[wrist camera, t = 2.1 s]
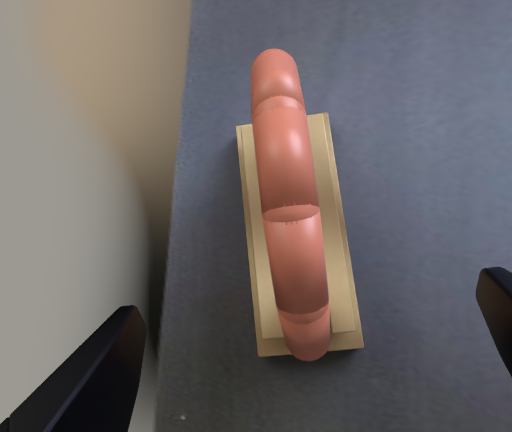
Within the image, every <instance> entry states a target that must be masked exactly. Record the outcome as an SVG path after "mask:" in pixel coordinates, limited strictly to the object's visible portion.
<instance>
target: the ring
mask: <svg viewBox="0 0 512 432" xmlns="http://www.w3.org/2000/svg"><path fill="white" fill-rule="evenodd" d="M251 107H252V128H253V137H254V146H255V156H256V165H257V174H258V183H259V193H260V202H261V211H262V219H263V226H264V232H265V239H266V245H267V251H268V258H269V264H270V271H271V277H272V283H273V290H274V296H275V303H276V307H277V311H278V315H279V319H280V323H281V327H282V331H283V335H284V338H285V342H286V345H287V348H288V349H289V351H290V352H291V353H292V354H293V355H294V356H295V357H296V358H298V359H300V360H304V361H313V360H316V359H319V358H320V357H322V356H323V355H324V354H325V353H326V351H327V350H328V347H329V344H330V311H329V293H328V283H327V274H326V264H325V254H324V245H323V235H322V226H321V216H320V207H319V200H318V193H317V186H316V179H315V172H314V165H313V158H312V151H311V143H310V136H309V129H308V122H307V115H306V110H305V105H304V100H303V95H302V90H301V85H300V80H299V76H298V71H297V66H296V64H295V61H294V60H293V58H292V57H291V56H290V55H289V54H288V53H286V52H285V51H283V50H280V49H269V50H266V51H264V52H262V53H261V54H260V55H259V56H258V57H257V58H256V59H255V61H254V62H253V65H252V68H251Z"/></svg>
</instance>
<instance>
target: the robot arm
mask: <svg viewBox="0 0 512 432" xmlns="http://www.w3.org/2000/svg"><path fill="white" fill-rule="evenodd" d="M476 299H477V302H478V304H479V307H480V309H481V312H482V314H483V316H484V319H485V321H486V323H487V326H488V328H489V330H490V333H491V335H492V338H493V340H494V342H495V345H496V347H497V349H498V352H499V354H500V356H501V358H502V360H503V362H504V364H505V366H506V367H507V369H508V371H509V373H510V375H511V376H512V273H511V272H509V271H507V270H506V269H504V268H501V267H491V268H484V269H482V270H481V272H480V275H479V279H478V284H477V288H476ZM145 340H146V325H145V322H144V320H143V318H142V316H141V314H140V312H139V310H138V308H137V307H136V306H134V305H130V306H122V307H120V308H119V309H117V310H116V311H115V312H114V313H113V314H112V315H111V316H110V317H109V318H108V319H107V320H106V321H105V322H104V323H103V324H102V325H101V326H100V327H99V328H98V329H97V330H96V331H95V332H94V333H93V334H92V335H91V336H90V337H89V338H88V339H87V340H86V341H85V342H84V343H83V344H82V345H80V346H79V347H78V349H76V350H75V351H74V352H73V353H72V354H71V355H70V356H69V358H67V359H66V360H65V361H64V362H63V363H62V364H61V365H60V366H59V367H58V368H57V369H56V370H55V371H54V372H53V373H52V374H51V375H50V376H49V377H48V378H47V379H46V380H45V381H44V382H43V383H42V384H41V385H40V386H39V387H38V388H37V389H36V390H35V391H34V392H33V393H32V394H31V395H30V396H29V397H28V398H27V399H26V400H25V401H24V402H23V403H22V404H21V405H20V406H19V407H18V408H17V409H16V410H14V411H13V413H11V415H10V418H9V417H8V418H6V419H5V420H4V421H3V422H2V423H1V424H0V432H128V428H129V424H130V420H131V416H132V412H133V408H134V404H135V400H136V396H137V392H138V387H139V382H140V375H141V368H142V361H143V354H144V347H145Z"/></svg>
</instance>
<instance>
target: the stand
mask: <svg viewBox="0 0 512 432" xmlns="http://www.w3.org/2000/svg"><path fill="white" fill-rule="evenodd" d="M307 122H308V129H309V136H310V143H311V151H312V158H313V165H314V172H315V179H316V186H317V193H318V200H319V207H320V216H321V226H322V235H323V245H324V254H325V264H326V274H327V283H328V293H329V311H330V344H329V347H328V350H327V351H337V350H349V349H360V348H364V343H363V337H362V330H361V324H360V317H359V311H358V304H357V298H356V292H355V285H354V279H353V272H352V266H351V259H350V253H349V246H348V240H347V233H346V227H345V220H344V214H343V208H342V201H341V195H340V188H339V182H338V175H337V169H336V162H335V156H334V149H333V143H332V136H331V130H330V123H329V117H328V113H320V114H314V115H307ZM236 134H237V144H238V154H239V164H240V175H241V185H242V195H243V206H244V216H245V226H246V236H247V247H248V257H249V267H250V277H251V288H252V298H253V308H254V319H255V329H256V339H257V349H258V357H267V356H279V355H290V354H292V353H291V352H290V351H289V349H288V348H287V345H286V342H285V338H284V335H283V331H282V327H281V323H280V319H279V315H278V311H277V307H276V303H275V296H274V290H273V283H272V277H271V271H270V264H269V258H268V251H267V245H266V239H265V232H264V226H263V219H262V211H261V202H260V193H259V183H258V174H257V165H256V156H255V146H254V137H253V128H252V124H249V125H242V126H236Z"/></svg>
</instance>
